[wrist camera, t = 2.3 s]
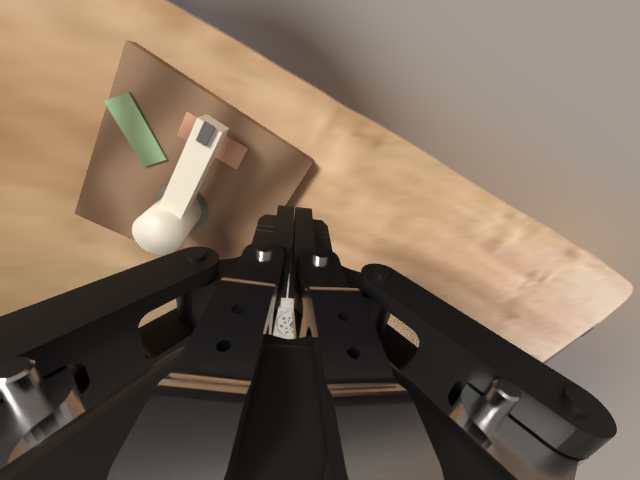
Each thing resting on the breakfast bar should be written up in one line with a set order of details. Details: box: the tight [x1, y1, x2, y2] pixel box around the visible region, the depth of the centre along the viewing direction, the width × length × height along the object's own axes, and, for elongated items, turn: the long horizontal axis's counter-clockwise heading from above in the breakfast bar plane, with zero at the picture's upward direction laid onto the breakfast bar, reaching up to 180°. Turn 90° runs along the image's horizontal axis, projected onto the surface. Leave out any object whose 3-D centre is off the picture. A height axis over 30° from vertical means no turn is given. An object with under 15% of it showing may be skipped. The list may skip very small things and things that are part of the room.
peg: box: [132, 114, 229, 255], centre depth 26 cm, size 4×13×6 cm, turn 146°
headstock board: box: [75, 40, 313, 260], centre depth 30 cm, size 18×18×2 cm
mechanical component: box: [274, 279, 294, 339], centre depth 38 cm, size 10×4×10 cm
